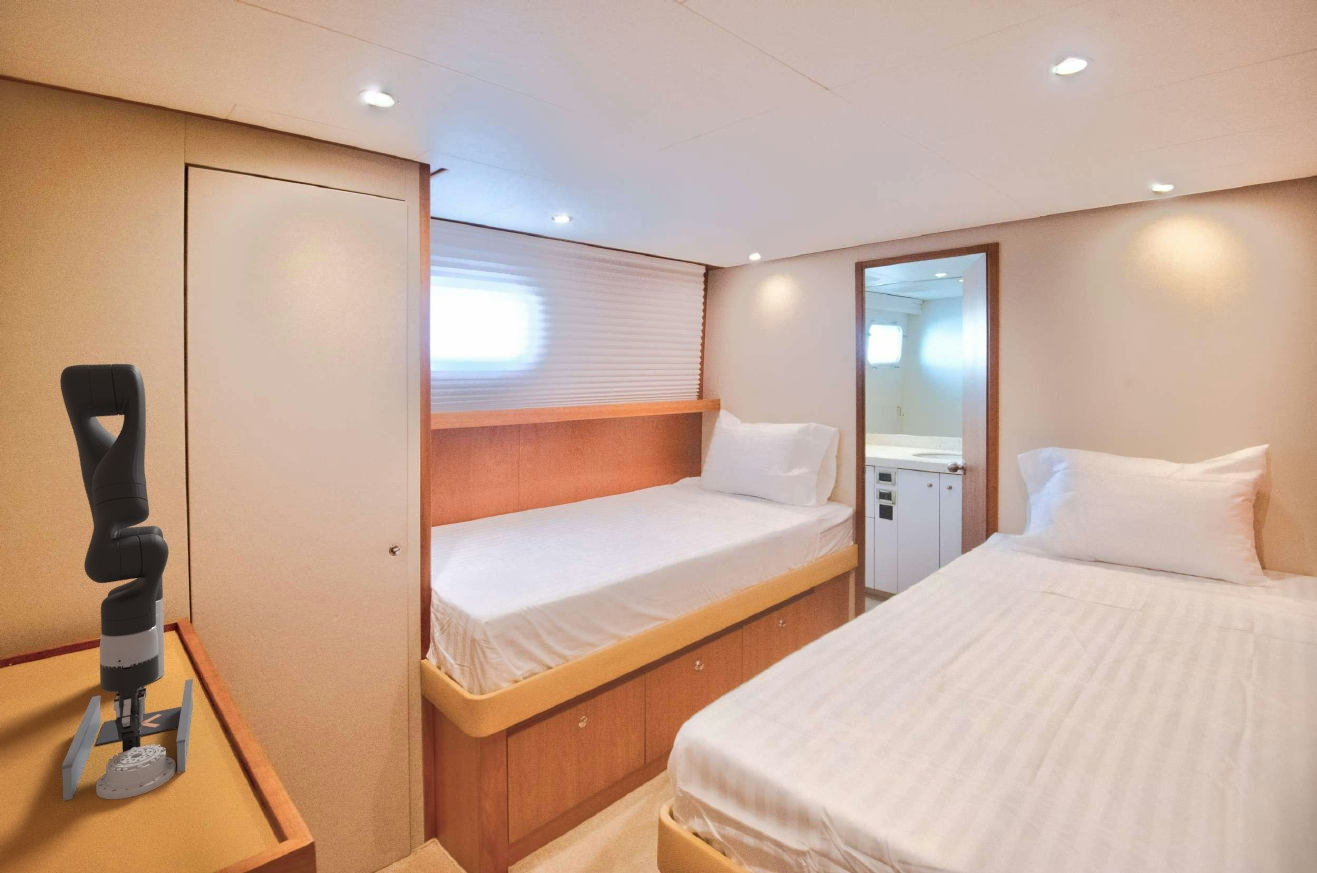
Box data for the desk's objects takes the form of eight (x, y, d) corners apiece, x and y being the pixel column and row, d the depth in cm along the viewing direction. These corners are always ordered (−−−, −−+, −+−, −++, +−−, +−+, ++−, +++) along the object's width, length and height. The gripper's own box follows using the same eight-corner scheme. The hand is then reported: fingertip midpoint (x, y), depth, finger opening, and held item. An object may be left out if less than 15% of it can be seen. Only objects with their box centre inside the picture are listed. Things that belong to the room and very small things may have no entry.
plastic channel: (92, 725, 119) (92, 696, 119) (193, 705, 128) (193, 678, 127) (62, 801, 98) (61, 766, 97) (185, 771, 106) (185, 739, 106)
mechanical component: (78, 800, 98) (143, 802, 98) (77, 773, 98) (142, 774, 98) (131, 763, 108) (190, 765, 108) (130, 738, 108) (189, 739, 108)
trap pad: (104, 723, 120) (104, 721, 120) (183, 707, 127) (183, 705, 127) (95, 745, 113) (95, 743, 113) (180, 727, 119) (180, 725, 119)
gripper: (106, 645, 109) (108, 742, 111) (92, 675, 98) (95, 782, 100) (161, 637, 114) (163, 731, 115) (154, 665, 103) (156, 768, 104)
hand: (131, 755), depth 107 cm, fingers closed
